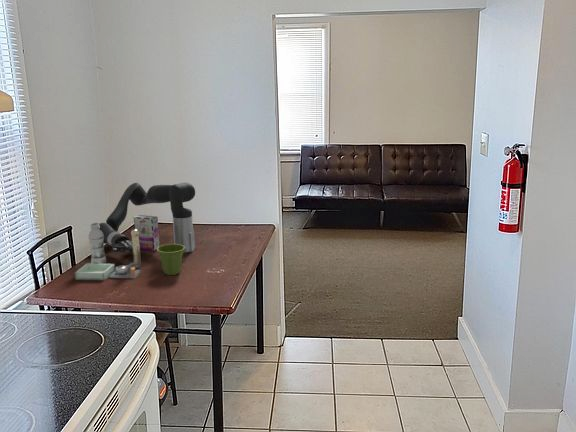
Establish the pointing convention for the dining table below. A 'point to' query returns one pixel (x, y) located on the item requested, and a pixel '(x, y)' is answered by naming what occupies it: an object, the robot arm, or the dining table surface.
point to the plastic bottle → (97, 245)
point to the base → (125, 274)
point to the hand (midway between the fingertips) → (134, 250)
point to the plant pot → (171, 258)
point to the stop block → (132, 270)
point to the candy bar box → (147, 231)
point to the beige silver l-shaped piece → (136, 254)
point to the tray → (94, 271)
